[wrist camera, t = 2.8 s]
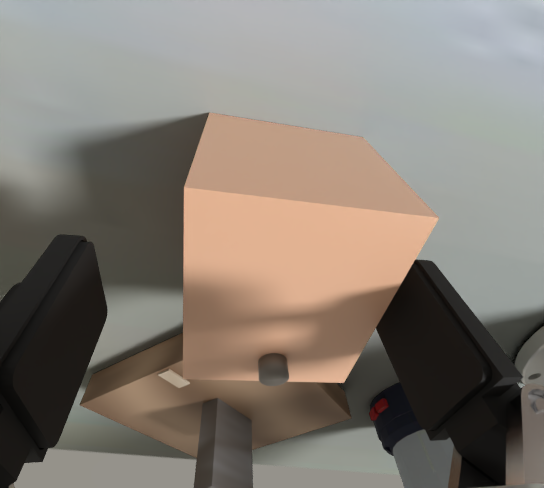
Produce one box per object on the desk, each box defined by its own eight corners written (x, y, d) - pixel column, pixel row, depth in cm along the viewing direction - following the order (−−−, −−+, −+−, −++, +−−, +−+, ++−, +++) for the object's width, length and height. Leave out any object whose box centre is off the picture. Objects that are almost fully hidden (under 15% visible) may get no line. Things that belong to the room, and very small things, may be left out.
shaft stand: (258, 297, 17) (264, 422, 12) (344, 391, 24) (372, 496, 19) (92, 374, 21) (40, 499, 15) (211, 437, 28) (203, 537, 22)
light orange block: (363, 137, 12) (452, 232, 7) (315, 275, 17) (348, 398, 11) (209, 112, 11) (179, 200, 6) (201, 266, 16) (179, 396, 10)
